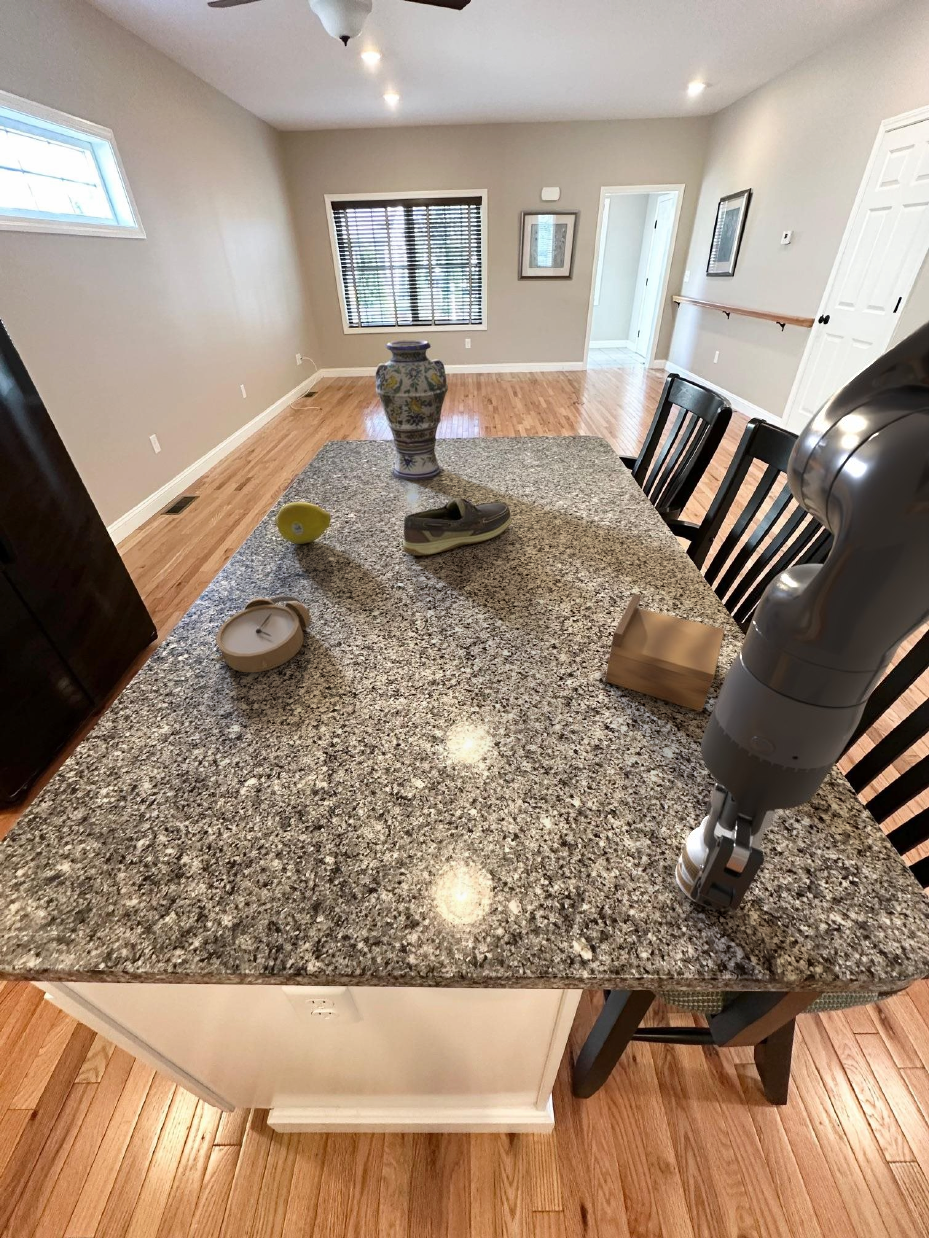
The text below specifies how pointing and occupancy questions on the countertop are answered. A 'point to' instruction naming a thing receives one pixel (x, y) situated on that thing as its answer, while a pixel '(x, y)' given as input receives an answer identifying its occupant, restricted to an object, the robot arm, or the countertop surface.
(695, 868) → the pill bottle
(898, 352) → the robot arm
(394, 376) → the vase
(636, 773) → the countertop surface
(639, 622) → the shelf
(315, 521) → the lemon
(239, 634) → the alarm clock
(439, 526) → the boat shoe
